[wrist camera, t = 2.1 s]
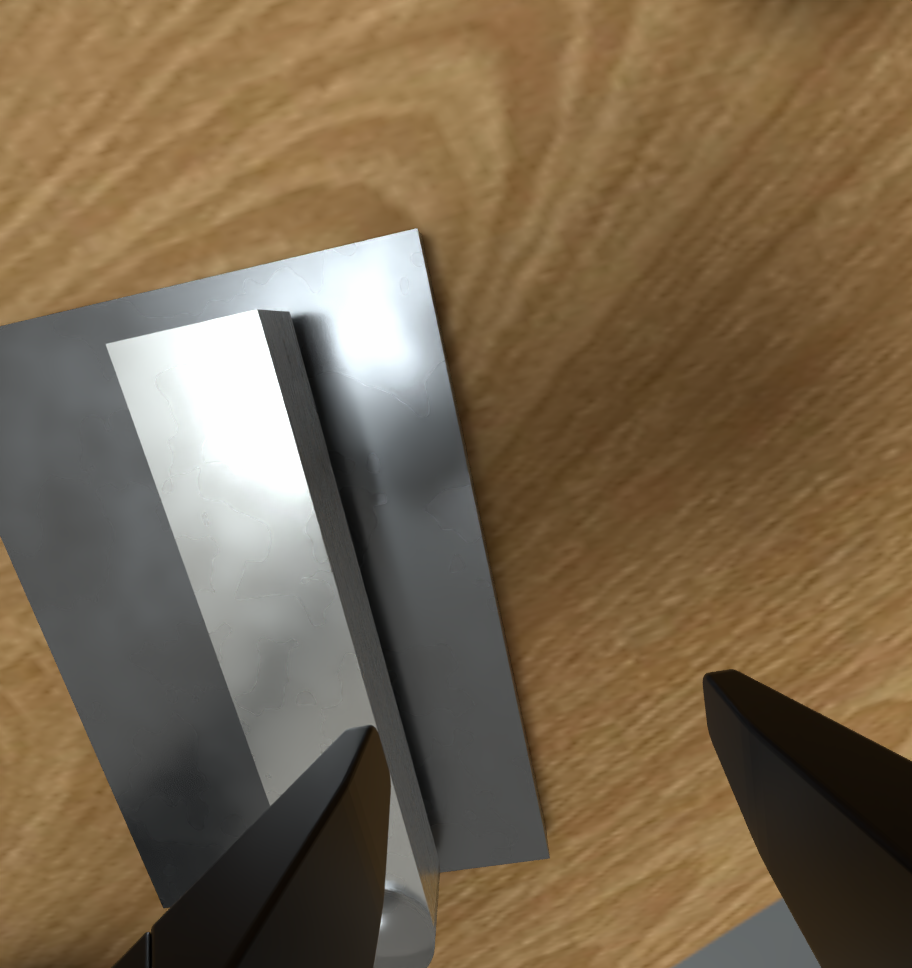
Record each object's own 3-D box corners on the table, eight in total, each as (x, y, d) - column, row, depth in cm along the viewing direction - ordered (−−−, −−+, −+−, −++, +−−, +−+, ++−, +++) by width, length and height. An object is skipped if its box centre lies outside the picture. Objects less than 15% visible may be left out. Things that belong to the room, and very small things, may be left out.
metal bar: (450, 900, 22) (446, 980, 19) (349, 913, 22) (331, 993, 20) (289, 311, 16) (252, 309, 14) (159, 341, 17) (97, 344, 14)
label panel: (546, 832, 23) (550, 863, 22) (178, 881, 25) (161, 912, 24) (421, 234, 18) (416, 227, 16) (-50, 344, 19) (-90, 346, 18)
